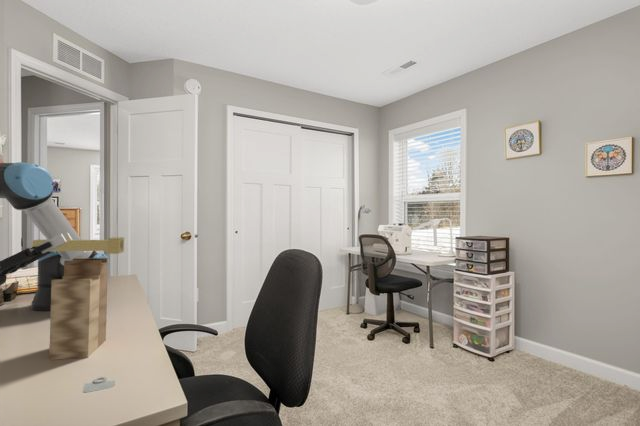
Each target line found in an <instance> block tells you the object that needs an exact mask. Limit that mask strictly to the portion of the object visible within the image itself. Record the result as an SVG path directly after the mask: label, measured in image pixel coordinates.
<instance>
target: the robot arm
mask: <svg viewBox="0 0 640 426" xmlns="http://www.w3.org/2000/svg"><path fill="white" fill-rule="evenodd" d="M53 183H54V179H53V177H52V176H51V173H50V172H49V171H48V170H47V169H45V167H43V166H41V165H39V164H35V163H32V162H23V161H21V162H20V161H19V162H0V199H5V200H7V202H8V203H9V204H10V205H11V206H12V207H13V209H15V210H17V211H23V212H24V213H25V214H26V216H27V217H28V218H29V220H31V221H32V223H33V224H34V225H35V227H36V228H37V229H38V230H39V232H40V233H41V234H42V235H43V236H44V237H45V240H47V241H45V242H43V243H41V244H39V245H37V246H38V247H36V246H33V247H32V246H31V247H27V248H25V249H23V250H21V251H19V252H17V253H15V254H13V255H11V256H8V257H6V258H4V259H2V260H0V286H2V285H4V284H5V283H6V281H7V275H9V274H10V275H11V274H13V273H15V272H18V270H20V269H22V268H25V267H26V266H28V265H30V264H32V263H34V262H36V261H37V289H36V291H35V293H34V297H33V299H32V301H31V307H30V309H31V310H32V311H33V310H34V311H51V285H52V280H60V279H62V276H64V261H70V260H73V258H108V268H109V266H110V260H109V257H108V256H107V254H104V253H101V252H99V253H98V251H50V250H52V249H54V248H56V247H58V246H60V245H62V244H64V243H66V242H67V241H66V240H83V239H82V238H81V237H80V235H79V234H78V232H77V231H76V230H75V228H74V227H73V226H72V224H71V223H70V222H69V220H68V219H67V217H66V216H65V215H64V213H63V212H62V211H61V210H60V208H59V207H58V206H57V204H56V202H55V201H54V200H53V199H52V197H53V195H54V191H53V190H54V185H53Z"/></svg>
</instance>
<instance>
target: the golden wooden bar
mask: <svg viewBox="0 0 640 426" xmlns="http://www.w3.org/2000/svg"><path fill="white" fill-rule="evenodd" d="M45 241H47V239H33V240H32V245H31V248H32V247H33V246H36V247H38V246H37V245H39V244H41V243H43V242H45ZM66 241H67V242H66V243H64V244H62V245H60V246H58V247H56V248H54V249H52V250H50V251H96V252H104V251H105V252H106V255H107V254H111V255H113V254H121V253H124V252H125V250H124V249H125V237H122V236H121V237H119V236H118V237H117V236H114V237H113V236H112V237H108V238H107V239H82V240H66Z"/></svg>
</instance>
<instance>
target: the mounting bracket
mask: <svg viewBox="0 0 640 426" xmlns="http://www.w3.org/2000/svg"><path fill="white" fill-rule="evenodd" d="M115 386H116V380H108V378H107V377H106V376H101V377H96V378H95V379H93V381H92V382H86V383H84V386H83V393H91V392H96V391H100V390H104V389H105V390H107V389H111V388H114V387H115Z"/></svg>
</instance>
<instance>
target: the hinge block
mask: <svg viewBox="0 0 640 426" xmlns="http://www.w3.org/2000/svg"><path fill="white" fill-rule="evenodd" d="M108 259H109V257H108V258H73V260H70V261H64V276H62V279H60V280H52V285H51V310H50V319H49V320H50V323H49V324H50V326H49V352H48V353H49V354H48V356H49V357H48V359H49V361H52V360H53V361H55V360H66V359H67V360H68V359H70V360H71V359H81V358H83V359H84V358H89V357H90V356H91V355H92V354H93V353H94V352H95V351H96V350H97V349H98V348H99V347H100V346H101V345H102V344H104V342H106V339H107V338H106V337H107V310H108V309H107V306H108V304H107V303H108V275H109V274H108V271H109V267H108Z"/></svg>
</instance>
